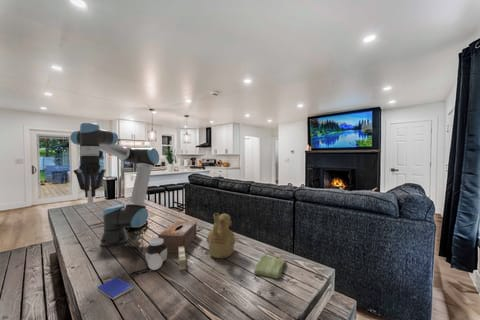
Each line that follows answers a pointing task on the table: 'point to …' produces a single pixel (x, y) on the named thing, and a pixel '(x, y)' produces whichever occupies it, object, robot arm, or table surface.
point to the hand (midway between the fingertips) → (90, 203)
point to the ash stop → (181, 258)
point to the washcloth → (269, 266)
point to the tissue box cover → (179, 235)
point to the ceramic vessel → (221, 237)
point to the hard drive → (115, 288)
